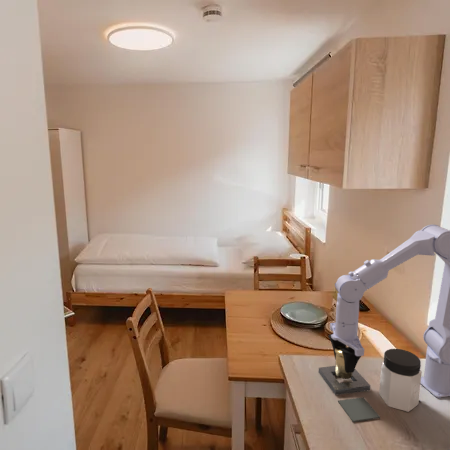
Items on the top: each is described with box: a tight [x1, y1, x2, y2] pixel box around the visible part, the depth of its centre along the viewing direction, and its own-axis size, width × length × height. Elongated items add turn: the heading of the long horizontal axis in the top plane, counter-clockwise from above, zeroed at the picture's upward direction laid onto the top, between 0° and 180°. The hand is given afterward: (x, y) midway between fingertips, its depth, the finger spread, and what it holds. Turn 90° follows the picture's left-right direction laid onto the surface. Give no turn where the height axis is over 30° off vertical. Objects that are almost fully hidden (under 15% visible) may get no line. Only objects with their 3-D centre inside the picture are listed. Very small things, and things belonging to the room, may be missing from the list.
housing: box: [318, 365, 371, 396], centre depth 94 cm, size 10×10×2 cm
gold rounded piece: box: [334, 345, 353, 380], centre depth 94 cm, size 5×5×7 cm
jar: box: [378, 348, 423, 412], centre depth 86 cm, size 9×8×12 cm
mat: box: [337, 396, 381, 423], centre depth 84 cm, size 7×7×1 cm
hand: (344, 365), depth 94 cm, fingers closed on gold rounded piece, 5 cm apart
